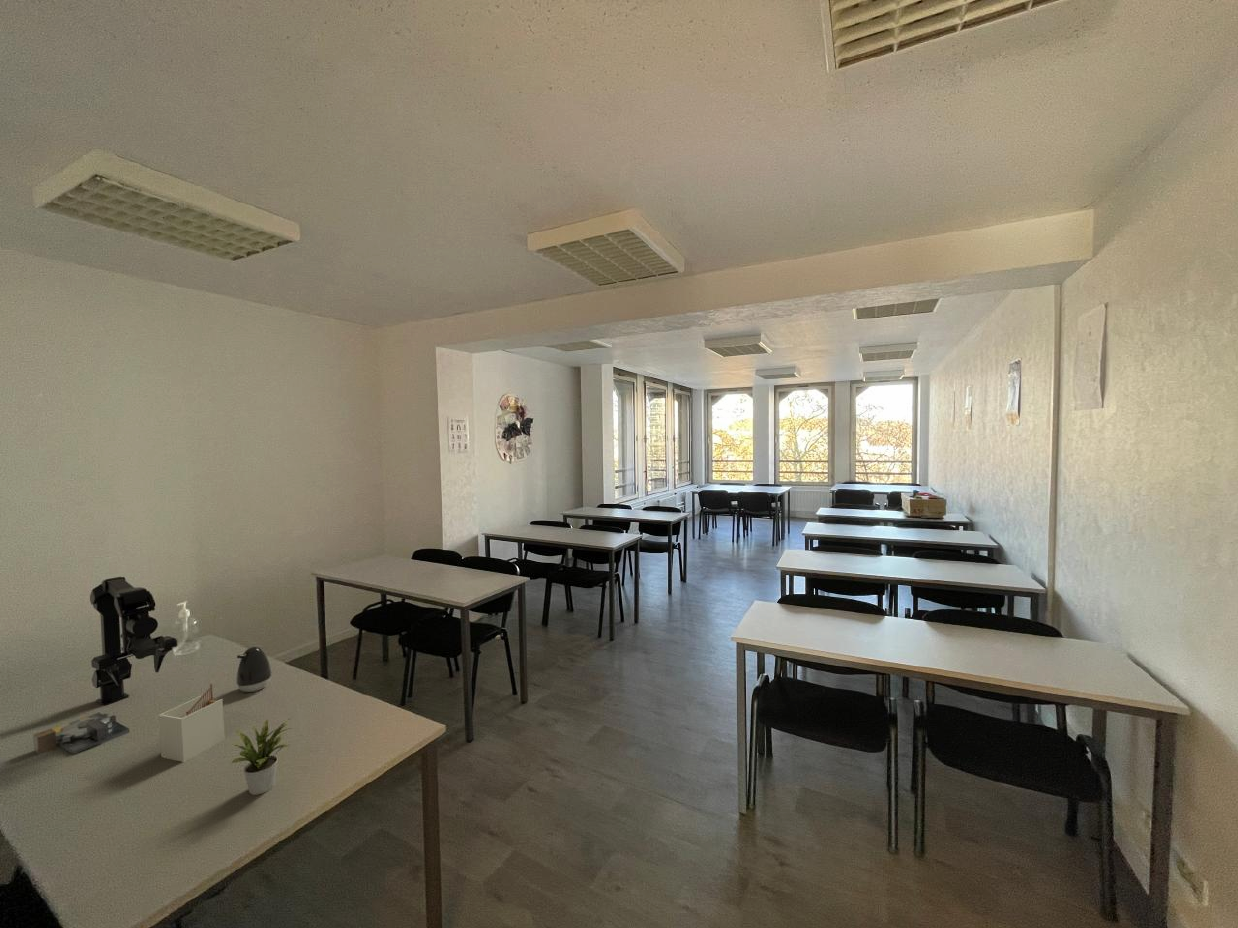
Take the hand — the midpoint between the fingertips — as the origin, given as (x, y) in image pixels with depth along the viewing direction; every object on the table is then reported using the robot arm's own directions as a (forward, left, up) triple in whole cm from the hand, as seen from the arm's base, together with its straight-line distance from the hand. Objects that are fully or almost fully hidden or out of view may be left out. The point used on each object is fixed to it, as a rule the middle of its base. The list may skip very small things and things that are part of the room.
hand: (138, 678), depth 154 cm
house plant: (+69, 0, -14) cm, 71 cm away
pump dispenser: (+9, +28, -14) cm, 33 cm away
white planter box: (+31, +1, -15) cm, 35 cm away
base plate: (-8, -10, -14) cm, 19 cm away
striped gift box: (-8, -18, -14) cm, 25 cm away
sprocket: (-5, -10, -13) cm, 17 cm away
